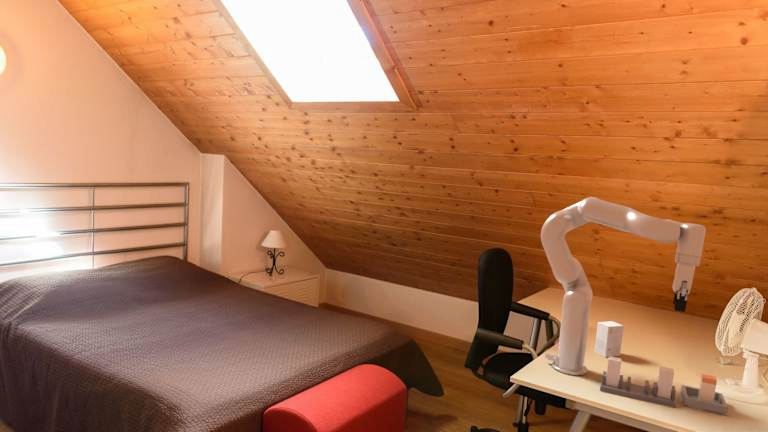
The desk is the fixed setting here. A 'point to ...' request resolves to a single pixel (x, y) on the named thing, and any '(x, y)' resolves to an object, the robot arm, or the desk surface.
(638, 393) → the fuse holder
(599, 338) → the small box
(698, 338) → the desk surface
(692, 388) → the grey tray
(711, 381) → the marked fuse
